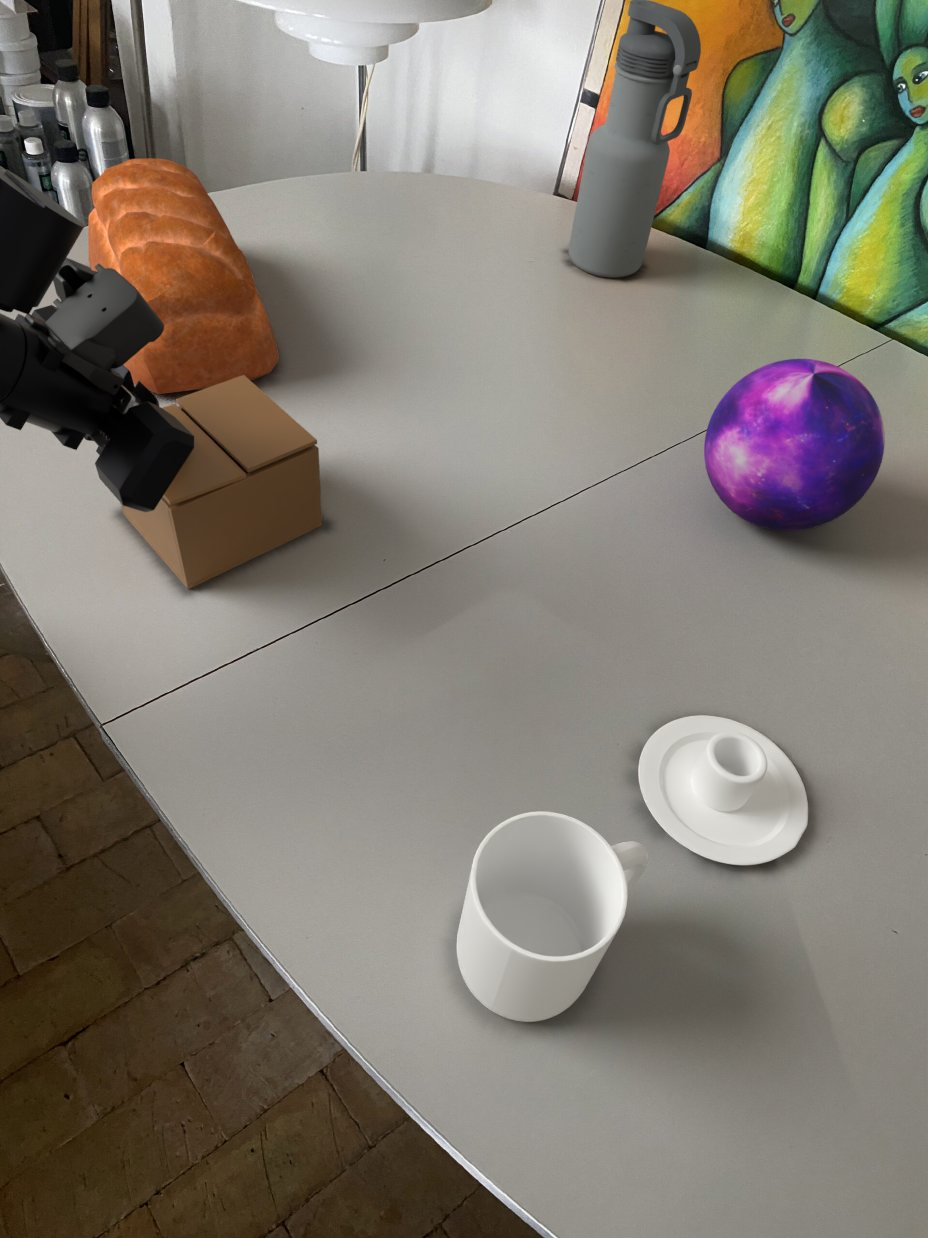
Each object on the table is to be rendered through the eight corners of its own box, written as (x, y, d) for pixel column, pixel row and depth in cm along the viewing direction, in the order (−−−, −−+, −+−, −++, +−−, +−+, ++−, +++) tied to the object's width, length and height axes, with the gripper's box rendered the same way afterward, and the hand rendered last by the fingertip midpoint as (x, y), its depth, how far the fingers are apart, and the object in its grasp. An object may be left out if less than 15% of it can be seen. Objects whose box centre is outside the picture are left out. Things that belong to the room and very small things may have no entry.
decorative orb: (667, 458, 87) (713, 322, 76) (809, 460, 89) (873, 327, 78) (708, 565, 77) (767, 427, 66) (866, 565, 79) (949, 430, 68)
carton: (188, 589, 70) (169, 502, 63) (123, 514, 75) (99, 425, 68) (322, 525, 76) (318, 439, 69) (254, 460, 81) (244, 373, 74)
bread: (135, 406, 85) (105, 279, 75) (85, 255, 103) (56, 136, 93) (291, 380, 90) (282, 258, 81) (217, 240, 108) (203, 127, 99)
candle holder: (834, 855, 60) (861, 824, 56) (671, 883, 57) (690, 853, 54) (759, 712, 67) (780, 677, 64) (613, 731, 65) (626, 697, 61)
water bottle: (658, 265, 114) (724, 14, 93) (616, 289, 109) (676, 29, 88) (595, 236, 118) (646, -11, 97) (552, 258, 113) (595, 2, 92)
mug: (588, 845, 58) (623, 763, 51) (664, 955, 54) (714, 883, 46) (430, 926, 54) (442, 849, 46) (499, 1054, 49) (524, 992, 42)
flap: (170, 505, 64) (170, 501, 63) (101, 430, 69) (100, 425, 68) (246, 477, 67) (246, 473, 67) (175, 407, 72) (175, 403, 72)
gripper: (136, 319, 48) (312, 415, 62) (-2, 191, 57) (179, 300, 71) (37, 482, 51) (228, 541, 64) (-81, 335, 59) (109, 414, 73)
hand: (185, 441), depth 68 cm, fingers closed, pressing on flap
